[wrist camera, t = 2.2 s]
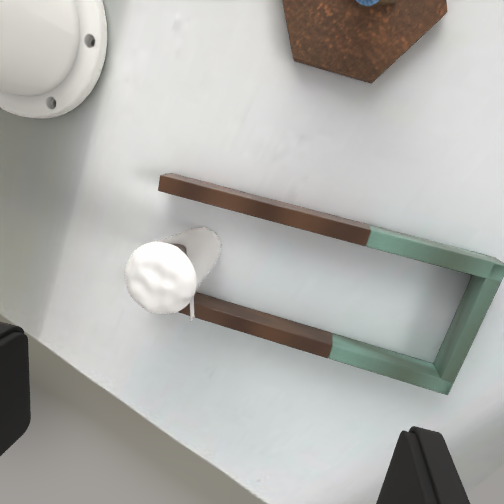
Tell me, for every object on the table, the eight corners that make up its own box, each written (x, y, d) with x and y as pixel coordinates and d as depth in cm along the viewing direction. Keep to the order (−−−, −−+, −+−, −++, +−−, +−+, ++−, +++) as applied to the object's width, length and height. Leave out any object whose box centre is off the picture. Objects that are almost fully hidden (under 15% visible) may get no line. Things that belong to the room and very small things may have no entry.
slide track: (152, 292, 32) (141, 301, 30) (171, 173, 29) (160, 174, 27) (440, 379, 29) (448, 395, 27) (496, 257, 26) (509, 266, 24)
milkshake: (222, 287, 31) (175, 349, 21) (167, 254, 31) (96, 300, 22) (248, 242, 29) (210, 287, 20) (190, 207, 30) (125, 235, 20)
